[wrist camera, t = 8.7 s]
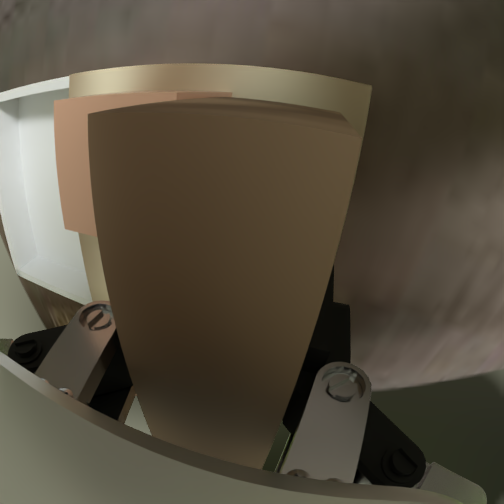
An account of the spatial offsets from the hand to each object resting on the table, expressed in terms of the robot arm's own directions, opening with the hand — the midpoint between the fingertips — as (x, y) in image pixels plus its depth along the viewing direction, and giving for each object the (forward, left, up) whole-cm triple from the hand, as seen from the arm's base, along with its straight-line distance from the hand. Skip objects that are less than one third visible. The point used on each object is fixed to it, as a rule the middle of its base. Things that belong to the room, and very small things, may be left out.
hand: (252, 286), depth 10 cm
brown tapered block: (0, 0, -1) cm, 1 cm away
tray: (+14, 0, -6) cm, 16 cm away
